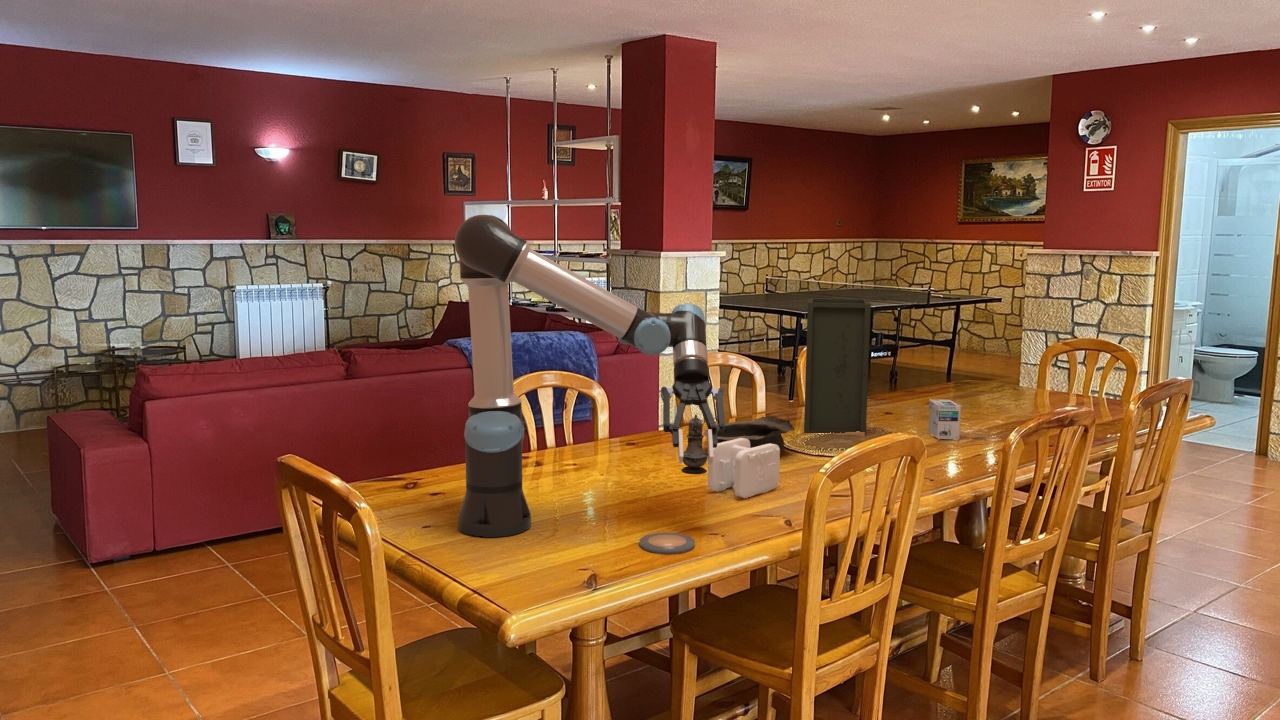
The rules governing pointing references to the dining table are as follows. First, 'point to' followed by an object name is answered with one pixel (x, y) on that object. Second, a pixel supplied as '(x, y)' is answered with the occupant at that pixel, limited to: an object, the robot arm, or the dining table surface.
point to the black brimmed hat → (757, 431)
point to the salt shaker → (694, 449)
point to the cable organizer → (744, 467)
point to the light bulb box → (944, 419)
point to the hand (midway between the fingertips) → (696, 459)
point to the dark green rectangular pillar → (837, 365)
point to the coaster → (667, 543)
